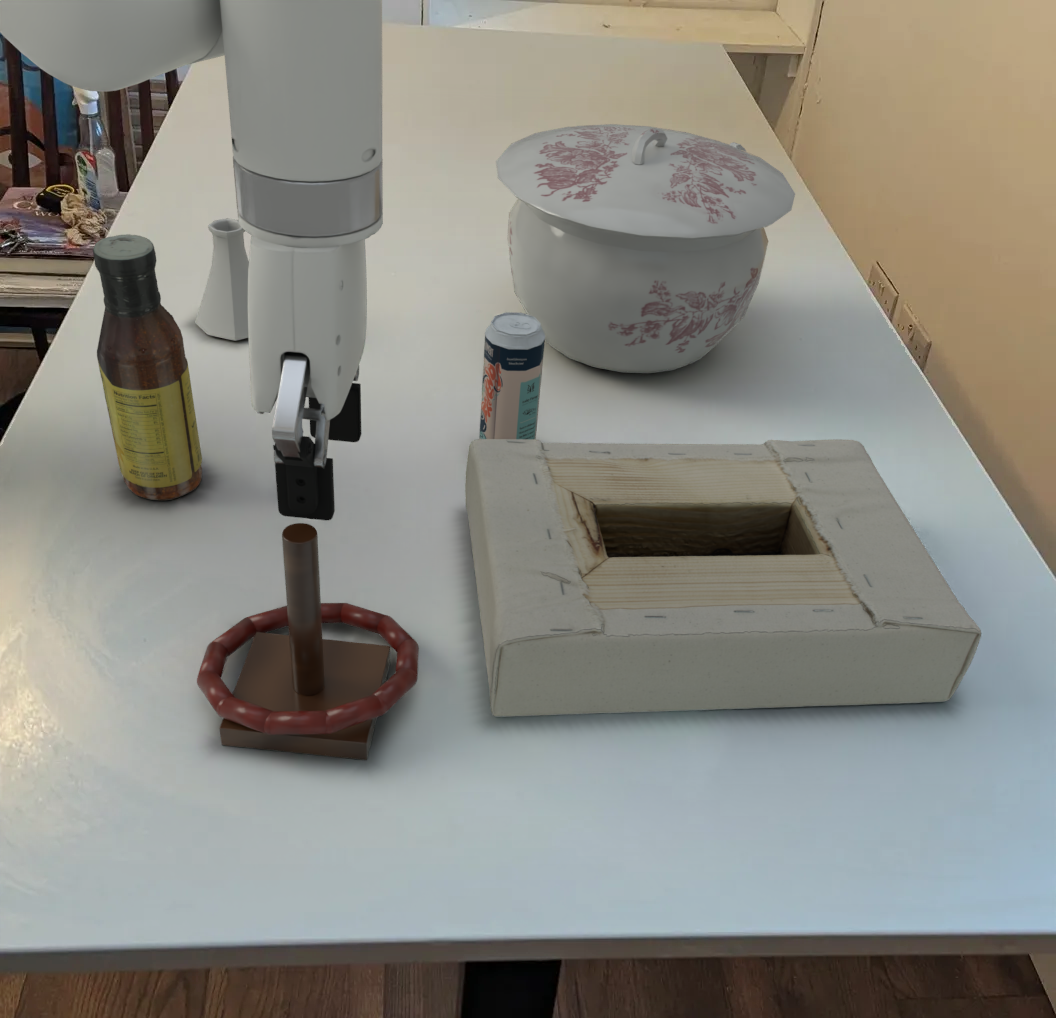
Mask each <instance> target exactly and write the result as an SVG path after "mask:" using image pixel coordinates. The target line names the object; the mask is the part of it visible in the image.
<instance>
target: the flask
mask: <svg viewBox="0 0 1056 1018" xmlns="http://www.w3.org/2000/svg"><path fill="white" fill-rule="evenodd" d="M207 228H208V230H209V232H210V233H211V235H212V245H213V248H212V256H211V257H212V258H211V266H210V269H209V273H208V276H207V277H208V278H207V281H206V284H205V288H204V292H203V295H202V297H201V300H200V301H201V302H200V305H199V307H198V310H197V313H196V317H195V321H194V323H195V324H196V325H197V326H198V327H199V328H200V329H201V330H202V331H203V332H204V333H206V335H207V336H211V337H216V338H222V339H226V340H230V341H235V342H236V341H241V340H244V339H249V338H248V266H249V256H248V255H247V254H248V253H247V250H246V247H245V238H244V233H245V232H246V231H245V230H244V229H243V228H242V227H241V226H240V224H239V222H238V219H234V218H231V217H230V218H229V217H227V218H226V217H225V218H220V219H214V221H212V222H211V223H209V224H208V225H207Z"/></svg>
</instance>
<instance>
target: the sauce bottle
mask: <svg viewBox="0 0 1056 1018" xmlns="http://www.w3.org/2000/svg"><path fill="white" fill-rule="evenodd" d="M92 253H93V260H94V261H93V262H94V267H95V268H96V270H97V271H98V273H99V276H100V283H101V287H102V292H103V304H104V311H103V316H102V317H103V318H102V321H101V327H100V332H99V338H98V342H97V347H96V348H97V349H96V358H97V363H98V368H99V373H100V378H101V383H102V390H103V393H104V399H105V403H106V409H107V413H108V417H109V423H110V424H109V425H110V427H111V432H112V438H113V442H114V443H113V444H114V447H115V453H116V457H117V462H118V467H119V471H120V473H121V475H122V479H123V482H124V483H125V484H126V487H127V488H128V490H130V491H131V493H132V494H134V495H135V496H137V497H141V498H144V499H146V500H150V501H173V500H175V499H179V498H180V497H183V496H185V495H187V494H189V493H191V492H193V491H194V490H196V489H197V488H198V487H199V485H200V483H201V482H202V477H203V476H202V474H203V471H202V470H203V468H202V462H203V454H202V449H201V443H200V436H199V430H198V423H197V417H196V408H195V402H194V396H193V389H192V382H191V376H190V369H189V362H188V359H187V357H186V353H185V352H186V351H185V344H184V338H183V334H182V331H181V328H180V327H179V326H178V323H177V322H176V320H175V318H174V316H173V315H172V314H171V313H170V312H169V311H168V310H167V309H166V308H165V307H164V306H163V305H162V303H161V301H162V296H161V292H160V291H159V286H158V279H157V274H156V265H157V253H156V250H155V245H154V243H153V242H152V241H151V240H150V238H147V237H145V236H141V235H138V234H130V233H127V234H116V235H112V236H107V237H104V238H101V239H99V240H98V241H96V243H95V244H94V246H93V248H92Z"/></svg>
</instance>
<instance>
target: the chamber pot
mask: <svg viewBox="0 0 1056 1018" xmlns="http://www.w3.org/2000/svg"><path fill="white" fill-rule="evenodd" d="M495 165H496V173H497V174H496V175H497V179H498V180H499V181H500V182H501V183H502V184H503V185H504V187H505V188H507V189H508V190H509V191H510V193H511V194H512V195H513V196H514V197H515V198H517V199H516V201H515V203H514V204H513V205H512V207H511V209H510V210H509V211H508V219H507V221H508V222H507V236H506V237H507V239H506V240H507V248H508V256H509V264H510V270H511V278H512V286H513V292H514V294H515V295H516V297H517V300H518V301H519V303H520V305H521V307H522V308H523V310H524V312H525V314H527V315H530V316H533V317H535V318H536V319H537V320H538V321H539V322H540V323H541V327H542V329H543V331H544V333H545V342H546V343H547V344H548V346H550V348H552V349H553V350H555V351H557V352H559V353H560V354H561V355H563V356H565V357H567V358H568V359H570V360H572V361H576V362H578V363H581V364H584V365H587V366H589V367H592V368H596V369H602V370H607V371H608V370H609V371H613V372H617V373H632V374H653V373H662V372H663V373H664V372H669V371H676V370H679V369H681V368H683V367H686V366H689V365H691V364H695V363H696V362H698V361H699V360H701V359H703V358H704V357H705V356H706V355H707V354H709V353H710V352H711V351H712V350H713V349H714V348H716V347H717V346H718V344H719V343H721V341H722V340H723V339H724V338H725V337H726V336H727V335H728V334H730V332H732V330H734V328H735V327H736V326H737V325H738V324H739V323H740V322H741V321H742V320H743V319H744V318H745V315H746V313H747V310H748V308H749V306H750V304H751V301H752V299H753V297H754V295H755V292H756V290H757V288H758V286H759V283H760V279H761V276H762V272H763V269H764V265H765V259H766V255H767V250H768V246H769V238H768V235H767V233H766V229H765V228H768V227H769V226H771V225H773V224H775V223H776V222H778V220H780V219H782V218H783V217H785V216H786V215H787V214H788V213H790V212H791V211H792V209H793V205H794V201H795V196H796V192H795V191H794V189H793V187H792V186H791V184H790V183H789V181H788V180H787V177H786V176H785V175H784V173H783V172H782V171H780V170H779V169H777V168H776V167H775V166H774V165H772V164H770V163H769V162H768V161H766V160H764V159H762V157H760V156H758V155H755V154H754V153H753V154H752V153H750V152H748V151H747V150H746V148H745V147H744V146H743V145H742V144H741V143H737V142H735V141H733V142H730V143H725V142H722V141H720V140H716V139H712V138H709V137H705V136H702V135H698V134H694V133H690V132H687V131H682V130H675V129H670V128H669V129H668V128H663V127H656V126H649V125H633V124H618V123H616V124H614V123H607V124H606V123H605V124H588V125H575V126H564V127H560V128H554V129H549V130H544V131H539V132H535V133H532V134H530V135H528V136H525V137H523V138H521V139H519V140H516V141H514V142H512V143H510V144H509V146H507V147H506V149H505V150H504V151H503V152H502V153H501V154H500V156H498V158H497V159H496V160H495Z"/></svg>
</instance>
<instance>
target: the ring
mask: <svg viewBox="0 0 1056 1018" xmlns="http://www.w3.org/2000/svg"><path fill="white" fill-rule="evenodd" d="M321 617H322V624H345V625H348V626H351V627H353V628H357V629H360V630H363V631H367V632H369V633H373V634H377V635H379V637H381V638H382V639H383V640H384V641H385V642H386V643H387V645H388V646H390V648H392V650H394V651H395V653H396V662H395V672H394V674H392V675H391V676H390V677H389V678H388V679H386V682H385V683H384V684H383V685H382V686H381V687H380V688H378V689H377V690H376V691H375V692H374V693H373V694H372V695H370V696H367V697H364V698H361V699H358V700H355V701H352V702H350V703H347V704H344V705H341V706H338V707H335V708H332V709H329V710H326V711H271V710H268V709H266V708H263V707H260V706H257V705H254V704H252V703H249V702H246V701H243V700H240V699H237V698H235V697H234V695H233V692H232V691H231V690H230V688H229V686H228V685H226V683H225V682H224V680H223V679H222V676H223V673H224V669H225V665H226V662H227V660H228V657H230V656H231V655H232V654H234V653H235V652H236V651H237V650H239V649H240V648H241V647H243V646H244V645H246V644H247V643H248V642H249V641H251V640H252V639H254V637H255V634H256V632H261V633H271V632H274V631H278V630H281V629H284V628H287V627H288V613H287V605H283V606H279V607H276V608H273V609H269V610H267V611H264V612H260V613H256V614H252V615H250V616H245V617H243V619H241V620H240V621H238V622H237V623H236V624H234V625H232V626H231V627H230V628H229V629H227V630H226V631H225V632H223V633H222V634H220V635H218V637H216V638H215V639H214V640H212V641H211V642H209V644H208V645H207V647H206V650H205V652H204V655H203V658H202V661H201V665H200V668H199V670H198V674H197V677H196V684H197V686H198V688H199V690H200V691H201V692H202V694H203V695H204V697H205V698H206V700H207V702H209V704H210V705H211V707H212V708H213V710H214V711H215V712H216V714H217V715H218V717H220V718H222V719H223V718H224V719H227V720H230V721H232V722H235V723H238V724H241V725H243V726H246V727H249V728H252V729H254V730H257V731H260V732H262V733H265V734H268V735H299V734H331V733H334V732H337V731H339V730H342V729H345V728H348V727H351V726H354V725H357V724H359V723H362V722H365V721H368V720H371V719H374V718H377V719H378V718H379V717H382V716H384V715H386V714H387V713H388V712H389V711H390V709H392V708H393V707H394V705H396V704H397V703H398V702H399V701H400V700H401V699H402V698H403V697H404V696H405V695H406V694H407V693H408V692H409V691H410V690H411V689H412V688H414V686H415V685H416V684H417V682H418V673H419V653H420V652H419V651H420V648H419V643H418V642H417V641H416V640H415V639H414V638H413V637H412V636H411V635H410V634H409V633H408V632H407V631H406V630H405V629H404V628H403V627H402V626H401V625H400V624H399V622H397V621H396V620H395V619H394V618H393V617H391V616H390V615H388V614H384V613H380V612H378V611H374V610H371V609H368V608H364V607H361V606H358V605H355V604H351V603H348V602H321ZM288 628H289V627H288Z"/></svg>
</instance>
